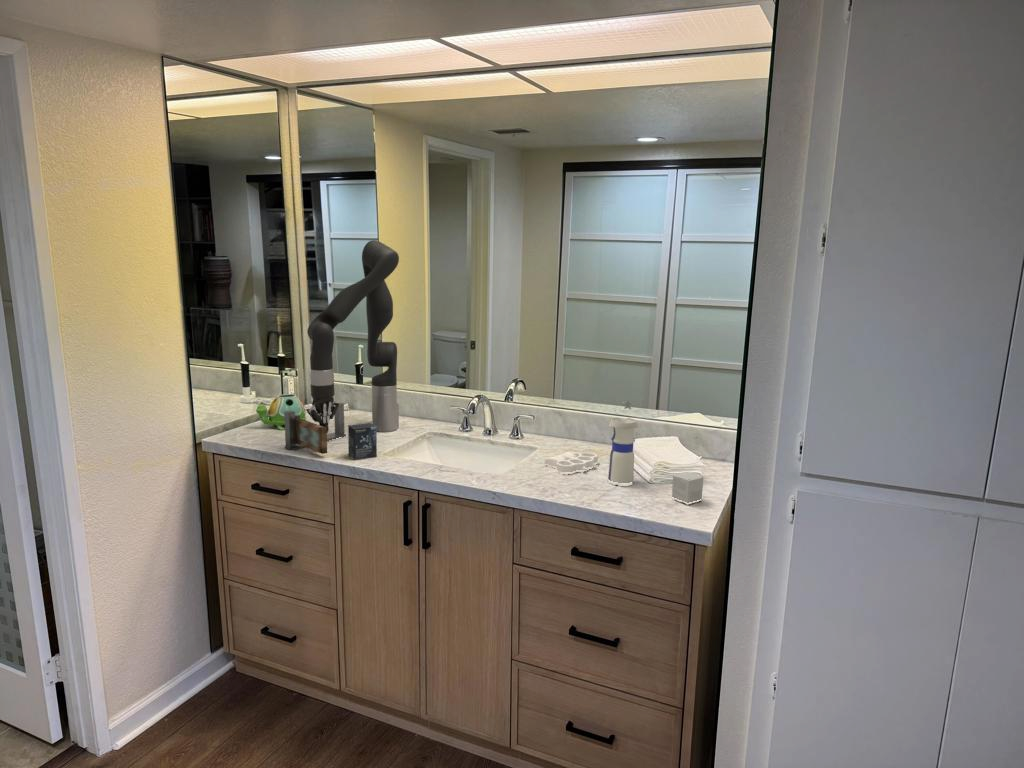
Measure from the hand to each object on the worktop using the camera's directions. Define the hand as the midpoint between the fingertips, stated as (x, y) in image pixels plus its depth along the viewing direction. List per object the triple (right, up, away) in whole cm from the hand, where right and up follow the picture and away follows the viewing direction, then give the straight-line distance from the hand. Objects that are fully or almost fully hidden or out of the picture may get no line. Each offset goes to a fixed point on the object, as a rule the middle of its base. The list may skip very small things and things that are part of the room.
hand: (324, 433), depth 234 cm
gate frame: (-6, -4, +13) cm, 15 cm away
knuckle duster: (+82, -11, -8) cm, 83 cm away
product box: (+112, -17, -36) cm, 119 cm away
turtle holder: (-24, 0, +32) cm, 40 cm away
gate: (-5, -5, 0) cm, 7 cm away
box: (+13, -8, -3) cm, 16 cm away
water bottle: (+95, -13, -22) cm, 99 cm away
